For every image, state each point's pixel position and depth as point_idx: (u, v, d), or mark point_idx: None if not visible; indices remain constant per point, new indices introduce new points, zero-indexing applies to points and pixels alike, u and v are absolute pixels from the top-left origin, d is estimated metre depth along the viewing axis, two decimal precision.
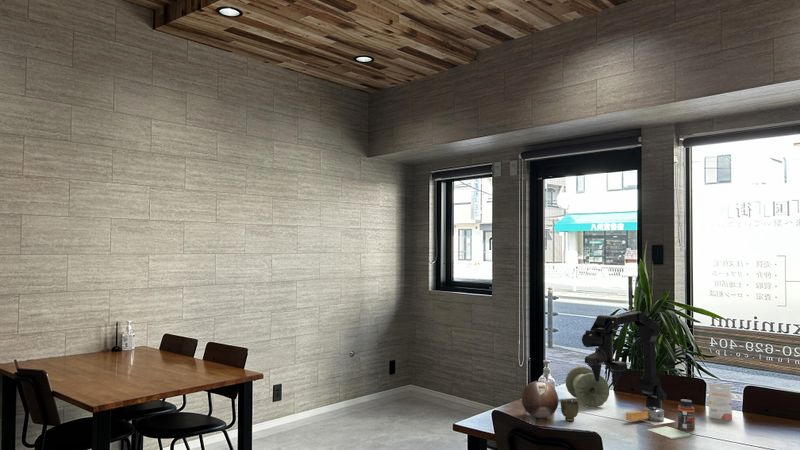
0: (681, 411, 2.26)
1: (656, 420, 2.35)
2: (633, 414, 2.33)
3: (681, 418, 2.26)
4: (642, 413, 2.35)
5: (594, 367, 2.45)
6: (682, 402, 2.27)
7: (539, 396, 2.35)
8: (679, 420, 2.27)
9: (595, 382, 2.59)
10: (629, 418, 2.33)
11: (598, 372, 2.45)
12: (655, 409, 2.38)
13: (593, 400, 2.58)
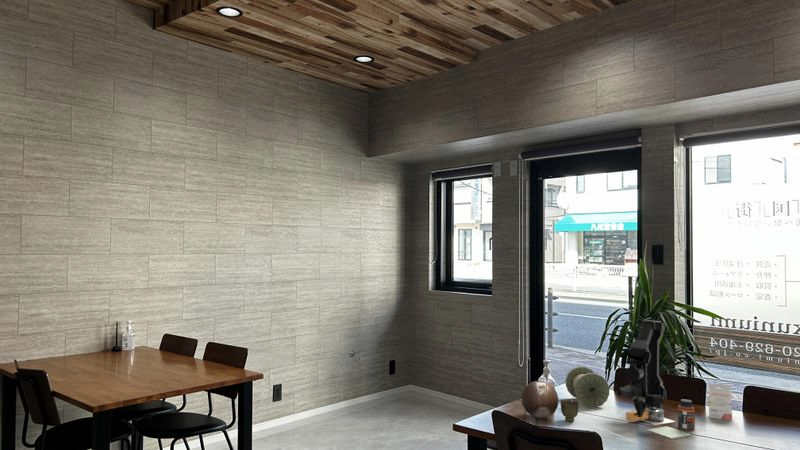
0: (681, 411, 2.26)
1: (656, 420, 2.35)
2: (633, 414, 2.33)
3: (681, 418, 2.26)
4: None
5: (636, 402, 2.33)
6: (682, 402, 2.27)
7: (539, 396, 2.35)
8: (679, 420, 2.27)
9: (595, 382, 2.59)
10: (629, 418, 2.33)
11: None
12: (655, 409, 2.38)
13: (593, 400, 2.58)
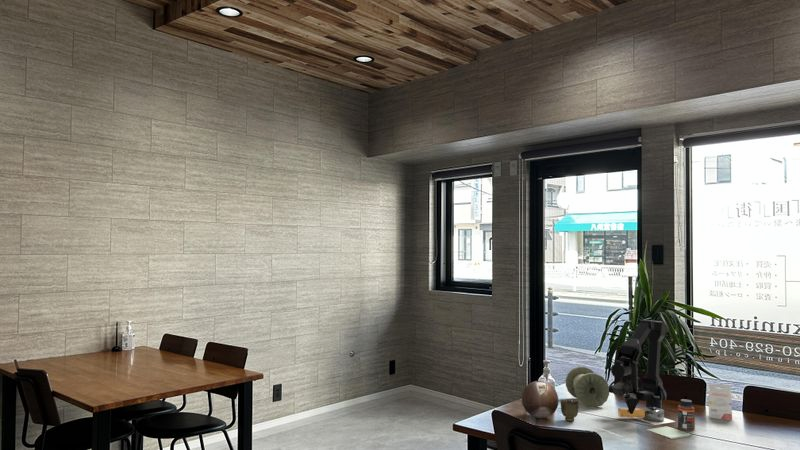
0: (681, 411, 2.26)
1: (651, 419, 2.36)
2: (623, 410, 2.38)
3: (681, 418, 2.26)
4: (636, 411, 2.38)
5: (628, 399, 2.37)
6: (682, 402, 2.27)
7: (539, 396, 2.35)
8: (679, 420, 2.27)
9: (595, 382, 2.59)
10: (619, 414, 2.39)
11: None
12: (653, 409, 2.38)
13: (593, 400, 2.58)
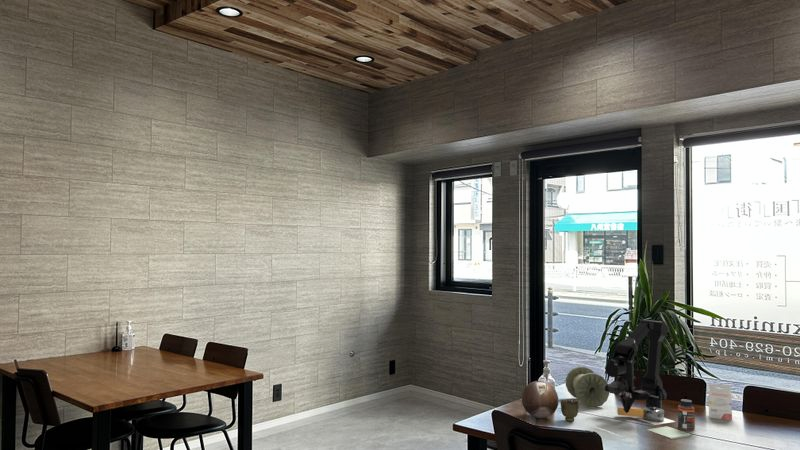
0: (681, 411, 2.26)
1: (649, 419, 2.36)
2: (621, 409, 2.41)
3: (681, 418, 2.26)
4: (634, 410, 2.40)
5: (623, 398, 2.39)
6: (682, 402, 2.27)
7: (539, 396, 2.35)
8: (679, 420, 2.27)
9: (595, 382, 2.59)
10: (617, 412, 2.42)
11: None
12: (652, 409, 2.38)
13: (593, 400, 2.58)
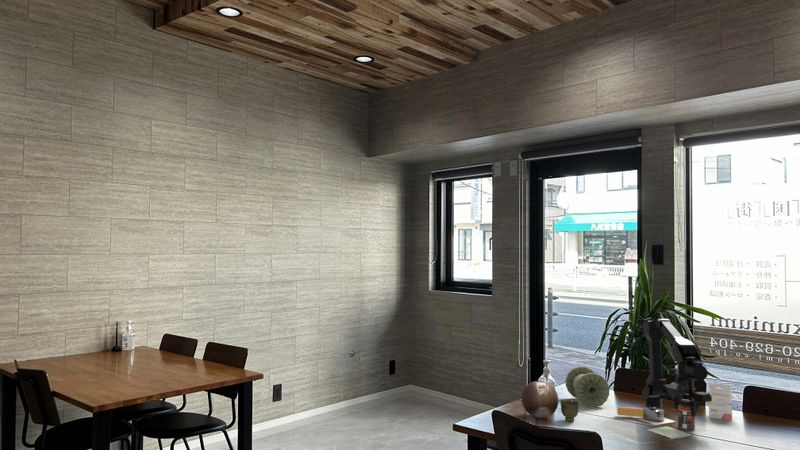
0: (681, 411, 2.26)
1: (649, 419, 2.36)
2: (621, 408, 2.41)
3: (681, 418, 2.26)
4: (634, 410, 2.40)
5: (676, 398, 2.30)
6: (682, 402, 2.27)
7: (539, 396, 2.35)
8: (679, 420, 2.27)
9: (595, 382, 2.59)
10: (617, 412, 2.42)
11: (680, 403, 2.31)
12: (652, 409, 2.38)
13: (593, 400, 2.58)
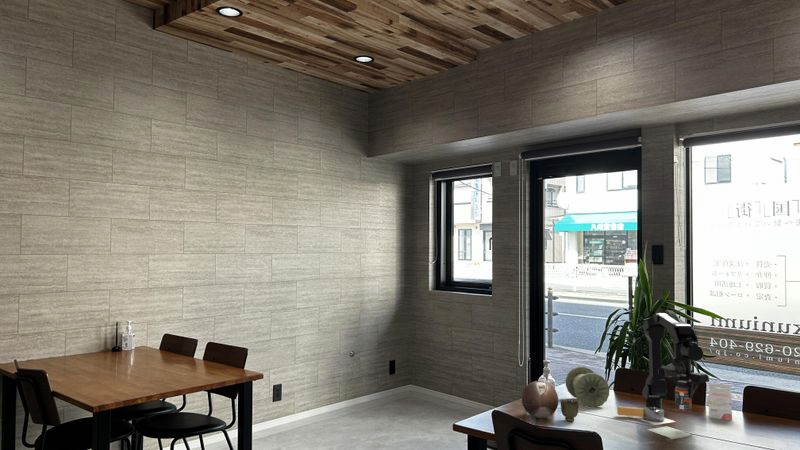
0: (678, 392, 2.25)
1: (649, 419, 2.36)
2: (621, 408, 2.41)
3: (678, 399, 2.25)
4: (634, 410, 2.40)
5: (673, 379, 2.30)
6: (679, 383, 2.26)
7: (539, 396, 2.35)
8: (676, 401, 2.26)
9: (595, 382, 2.59)
10: (617, 412, 2.42)
11: None
12: (652, 409, 2.38)
13: (593, 400, 2.58)
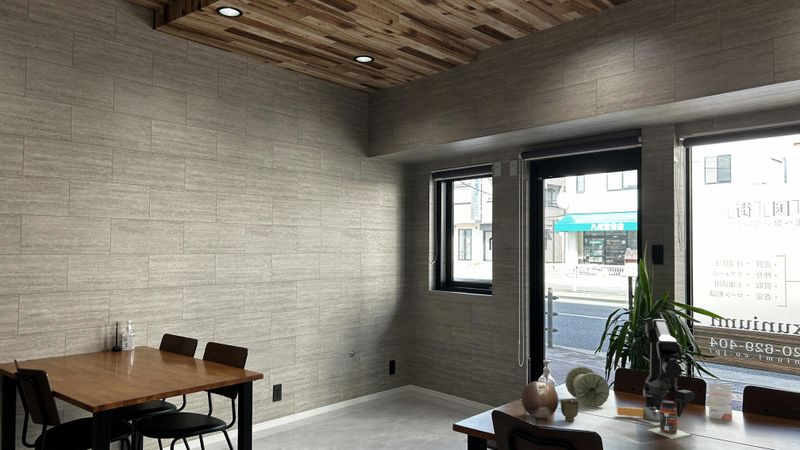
0: (662, 413, 2.21)
1: (649, 419, 2.36)
2: (621, 408, 2.41)
3: (663, 420, 2.20)
4: (634, 410, 2.40)
5: (655, 395, 2.26)
6: (664, 403, 2.22)
7: (539, 396, 2.35)
8: (661, 422, 2.21)
9: (595, 382, 2.59)
10: (617, 412, 2.42)
11: (659, 400, 2.27)
12: (652, 409, 2.38)
13: (593, 400, 2.58)
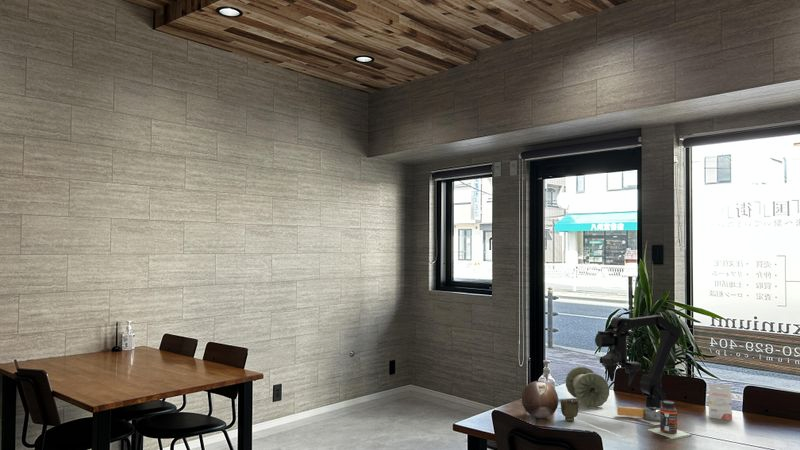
0: (663, 413, 2.21)
1: (649, 419, 2.36)
2: (621, 408, 2.41)
3: (663, 420, 2.20)
4: (634, 410, 2.40)
5: (609, 367, 2.53)
6: (664, 404, 2.21)
7: (539, 396, 2.35)
8: (661, 422, 2.21)
9: (595, 382, 2.59)
10: (617, 412, 2.42)
11: (613, 372, 2.54)
12: (652, 409, 2.38)
13: (593, 400, 2.58)
